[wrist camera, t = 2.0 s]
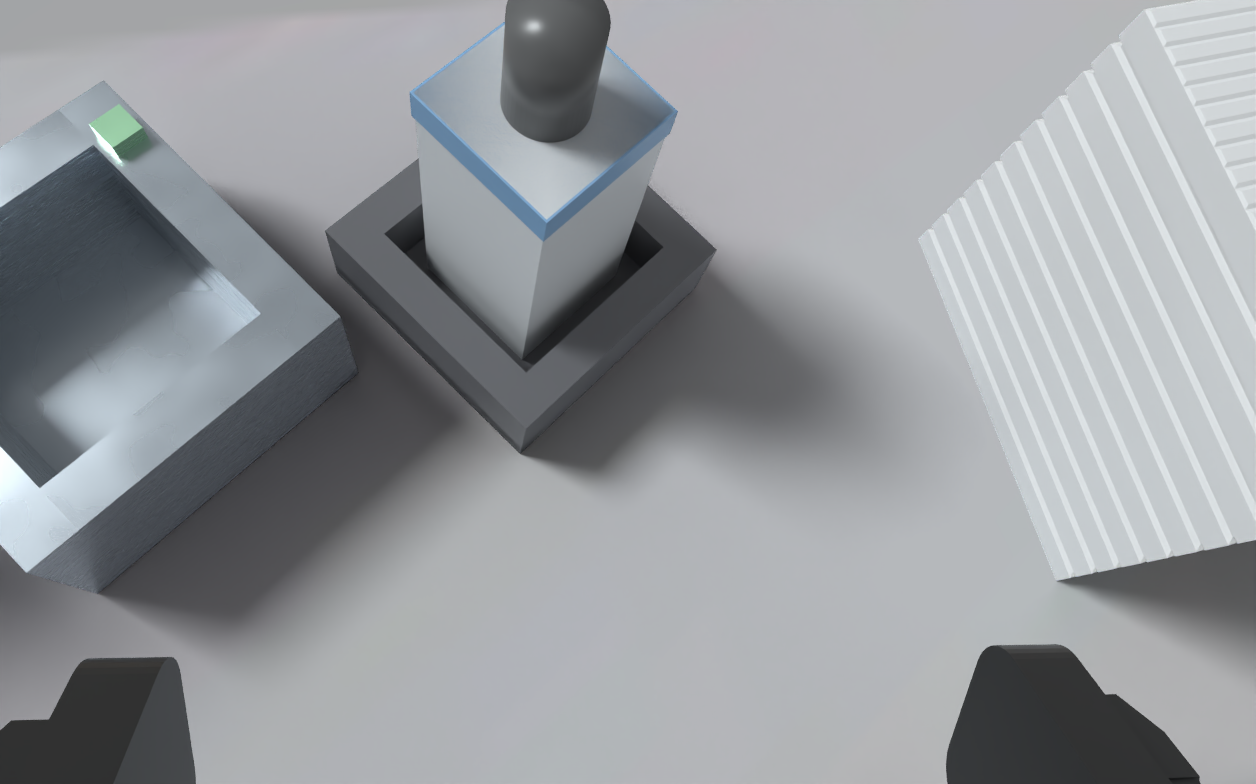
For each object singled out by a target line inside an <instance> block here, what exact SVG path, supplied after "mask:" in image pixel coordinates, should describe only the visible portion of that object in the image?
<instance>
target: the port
mask: <svg viewBox="0 0 1256 784" xmlns="http://www.w3.org/2000/svg"><path fill="white" fill-rule="evenodd" d="M356 374H358V370H357V367H356V364H355V361H354V358H353V354H352V351H351V348H350V345H349V342H348V339H347V336H346V332H345V329H344V326H343V323H342V320H341V317H340V315H339V314H338V313H337V312H336V311H335V310H334V309H333V308H332V307H331V306H329V305H328V304H327V303H326V302H325V301H324V300H323V299H322V298H321V297H320V296H319V295H318V294H317V293H316V292H315V291H314V290H313V289H312V288H311V287H310V286H309V285H308V284H307V283H306V282H305V281H304V280H303V279H302V278H301V277H300V276H299V275H298V274H297V273H296V272H295V271H294V270H293V269H292V268H291V267H290V266H289V265H288V264H287V263H286V262H285V261H284V260H283V259H282V258H281V257H280V256H279V255H278V254H277V253H276V252H275V251H274V250H273V249H272V248H271V247H270V246H269V245H268V244H267V243H266V242H265V241H264V240H263V239H262V238H261V237H260V236H259V235H258V234H257V233H256V232H255V231H254V230H253V229H252V228H251V227H250V226H249V225H248V224H247V223H246V222H245V221H244V220H243V219H242V218H241V217H240V216H239V215H238V214H237V213H236V212H235V211H234V210H233V209H232V208H231V207H230V206H229V205H228V204H227V203H226V202H225V201H224V200H223V199H222V198H221V197H220V196H219V195H218V194H217V193H216V192H215V191H214V190H213V189H212V188H211V187H210V186H209V185H208V184H207V183H206V182H205V181H204V180H203V179H202V178H201V177H200V176H199V175H198V174H197V173H196V172H195V171H194V170H193V169H192V168H191V167H190V166H189V165H188V164H187V163H186V162H185V161H184V160H183V159H182V158H181V157H180V156H179V155H178V154H177V153H176V152H175V151H174V150H173V149H172V148H171V147H170V146H169V145H168V144H167V143H166V142H165V141H164V140H163V139H162V138H161V137H160V136H159V135H158V134H157V133H156V132H155V131H154V130H153V129H152V128H151V127H150V126H149V125H148V124H147V123H146V122H145V121H144V120H143V119H142V118H141V117H140V116H139V115H138V114H137V113H136V112H135V111H134V110H133V109H132V108H131V107H130V106H129V105H128V104H127V103H126V102H125V101H124V100H123V99H122V98H121V97H120V96H119V95H118V94H117V93H116V92H115V91H114V90H113V89H112V88H111V87H110V86H109V85H108V84H107V83H106V82H105V81H104V80H103V81H102V82H100V83H99V84H97V85H96V86H94V87H92V88H91V89H89V90H88V91H86V92H85V93H83V94H82V95H80V96H79V97H77V98H76V99H74V100H72V101H71V102H69V103H68V104H66V105H65V106H63V107H62V108H60V109H59V110H57V111H56V112H54V113H52V114H51V115H49V116H48V117H46V118H45V119H43V120H42V121H40V122H39V123H37V124H36V125H34V126H32V127H31V128H29V129H28V130H26V131H25V132H23V133H22V134H20V135H19V136H17V137H16V138H14V139H12V140H11V141H9V142H8V143H6V144H5V145H3V146H2V147H0V545H1V546H2V547H3V548H4V549H5V550H6V551H7V552H8V554H9V555H10V556H11V557H12V558H13V559H14V560H15V561H16V562H17V563H18V564H19V565H20V567H21V568H22V569H23V570H24V571H25V572H26V573H28V574H32V575H35V576H39V577H42V578H45V579H49V580H52V581H56V582H59V583H62V584H66V585H69V586H73V587H76V588H80V589H83V590H86V591H90V592H93V593H97V594H98V593H99V592H100V591H101V590H103V589H104V588H105V587H106V586H107V585H108V584H110V583H111V582H112V581H113V580H114V579H116V578H117V577H118V576H119V575H120V574H121V573H123V572H124V571H125V570H126V569H127V568H129V567H130V566H131V565H132V564H133V563H134V562H136V561H137V560H138V559H139V558H140V557H142V556H143V555H144V554H145V553H146V552H147V551H149V550H150V549H151V548H152V547H153V546H155V545H156V544H157V543H158V542H159V541H160V540H162V539H163V538H164V537H165V536H166V535H167V534H169V533H170V532H171V531H172V530H173V529H175V528H176V527H177V526H178V525H179V524H180V523H182V522H183V521H184V520H185V519H186V518H188V517H189V516H190V515H191V514H192V513H193V512H195V511H196V510H197V509H198V508H199V507H201V506H202V505H203V504H204V503H205V502H206V501H208V500H209V499H210V498H211V497H212V496H214V495H215V494H216V493H217V492H218V491H219V490H221V489H222V488H223V487H224V486H225V485H227V484H228V483H229V482H230V481H231V480H232V479H234V478H235V477H236V476H237V475H238V474H240V473H241V472H242V471H243V470H244V469H245V468H247V467H248V466H249V465H250V464H251V463H253V462H254V461H255V460H256V459H257V458H258V457H260V456H261V455H262V454H263V453H264V452H265V451H267V450H268V449H269V448H270V447H271V446H273V445H274V444H275V443H276V442H277V441H278V440H280V439H281V438H282V437H283V436H284V435H286V434H287V433H288V432H289V431H290V430H291V429H293V428H294V427H295V426H296V425H297V424H299V423H300V422H301V421H302V420H303V419H304V418H306V417H307V416H308V415H309V414H310V413H312V412H313V411H314V410H315V409H316V408H317V407H319V406H320V405H321V404H322V403H323V402H325V401H326V400H327V399H328V398H329V397H330V396H332V395H333V394H334V393H335V392H336V391H338V390H339V389H340V388H341V387H342V386H343V385H345V384H346V383H347V382H348V381H349V380H350V379H352V378H353V377H354V376H355V375H356Z"/></svg>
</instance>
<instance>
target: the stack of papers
mask: <svg viewBox="0 0 1256 784" xmlns="http://www.w3.org/2000/svg"><path fill="white" fill-rule="evenodd" d="M1118 36H1119V38H1120V40H1121V42H1117V43H1111V44H1110V45H1109V46H1108V47H1107V48H1106V49H1105V50H1104V51H1103V52H1102V53H1101V54H1100V55H1099V56H1098V57H1097V58H1096V59H1095V60H1094V61H1093V62H1092V63H1091V66H1092V68H1093V70H1087V71H1083V72H1082V73H1081V74H1080V75H1079V76H1078V77H1077V78H1076V79H1075V80H1074V81H1073V82H1072V83H1071V84H1070V85H1069V86H1068V87H1067V88H1066V89H1065V91H1066V93H1067V95H1064V96H1059V97H1058V98H1057V99H1056V100H1055V101H1054V102H1053V103H1052V104H1051V105H1050V106H1049V107H1048V108H1047V109H1046V110H1045V111H1044V112H1043V113H1042V116H1043V119H1038V120H1035V121H1034V122H1033V123H1032V124H1031V125H1030V126H1029V127H1028V128H1027V129H1026V130H1025V131H1024V132H1023V133H1022V134H1021V135H1020V138H1021V140H1020V141H1015V142H1013V143H1012V144H1011V145H1010V146H1009V147H1008V148H1007V149H1006V150H1005V151H1004V152H1003V153H1002V154H1001V155H1000V158H1001V160H1000V161H995V162H994V163H993V164H992V165H991V166H990V167H989V168H988V169H987V170H986V171H985V172H984V173H983V174H982V175H981V177H982V179H980V180H976V181H975V182H974V183H973V184H972V185H971V186H970V187H969V188H968V189H967V190H966V191H965V192H964V193H963V194H964V196H965V197H961V198H958V199H957V200H956V201H955V202H954V203H953V204H952V205H951V206H950V207H949V208H948V209H947V211H948V213H946V214H942V215H941V217H940V218H939V219H938V220H937V221H936V222H935V223H934V224H933V225H932V227H933V228H932V229H928V230H927V231H926V232H925V233H924V234H923V235H922V236H921V237H920V238H919V239H918V240H919V242H920V245H921V247H922V250H923V252H924V255H925V257H926V260H927V262H928V265H929V267H930V269H931V272H932V274H933V277H934V279H935V282H936V284H937V287H938V289H939V292H940V294H941V297H942V299H943V302H944V304H945V307H946V309H947V312H948V314H949V317H950V319H951V321H952V324H953V326H954V329H955V331H956V334H957V336H958V339H959V341H960V344H961V346H962V349H963V351H964V354H965V356H966V359H967V361H968V364H969V366H970V369H971V371H972V373H973V376H974V378H975V381H976V383H977V386H978V388H979V391H980V393H981V396H982V398H983V401H984V403H985V406H986V408H987V411H988V413H989V416H990V418H991V421H992V423H993V425H994V428H995V430H996V433H997V435H998V438H999V440H1000V443H1001V445H1002V448H1003V450H1004V453H1005V455H1006V458H1007V460H1008V463H1009V465H1010V468H1011V470H1012V473H1013V475H1014V477H1015V480H1016V482H1017V485H1018V487H1019V490H1020V492H1021V495H1022V497H1023V500H1024V502H1025V505H1026V507H1027V510H1028V512H1029V515H1030V517H1031V520H1032V522H1033V525H1034V527H1035V529H1036V532H1037V534H1038V537H1039V539H1040V542H1041V544H1042V547H1043V549H1044V552H1045V554H1046V557H1047V559H1048V562H1049V564H1050V567H1051V569H1052V572H1053V574H1054V577H1055V579H1056V581H1058V580H1063V579H1067V578H1072V577H1075V576H1076V577H1077V576H1082V575H1087V574H1092V573H1095V572H1102V571H1107V570H1111V569H1116V568H1119V567H1126V566H1131V565H1136V564H1141V563H1144V562H1151V561H1155V560H1160V559H1165V558H1169V557H1172V556H1180V555H1185V554H1190V553H1195V552H1198V551H1201V550H1209V549H1214V548H1219V547H1224V546H1229V545H1232V544H1235V543H1237V544H1239V543H1243V542H1248V541H1253V540H1256V0H1196V1H1190V2H1184V3H1178V4H1172V5H1167V6H1161V7H1155V8H1149V9H1144V10H1143V11H1142V12H1141V13H1140V14H1139V15H1138V16H1137V17H1136V18H1135V19H1134V20H1133V21H1132V22H1131V23H1130V24H1129V25H1128V26H1127V27H1126V28H1125V29H1124V30H1123V31H1122V32H1121V33H1120V34H1119V35H1118Z"/></svg>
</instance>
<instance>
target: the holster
mask: <svg viewBox="0 0 1256 784" xmlns="http://www.w3.org/2000/svg"><path fill="white" fill-rule="evenodd" d="M325 232H326V236H327V239H328V243H329V246H330V249H331V253H332V256H333V260H334V263H335V267H336V270H337V273H338V274H339V275H340V276H341V277H342V278H343V279H344V280H345V281H346V282H347V283H348V284H349V285H350V286H351V287H352V288H353V289H354V290H355V291H356V292H357V293H358V294H359V295H360V296H361V297H362V298H363V299H364V300H365V301H366V302H367V303H368V304H369V305H370V306H371V307H372V308H373V309H374V310H375V311H376V312H377V313H378V314H379V315H380V316H381V317H382V318H383V319H385V320H386V321H387V322H388V323H389V324H390V325H391V326H392V327H393V328H394V329H395V330H396V331H397V332H398V333H399V334H400V335H401V336H402V337H403V338H404V339H405V340H406V341H407V342H408V343H409V344H410V345H411V346H412V347H413V348H414V349H415V350H416V351H417V352H418V353H419V354H420V355H421V356H422V357H423V358H424V359H425V360H426V361H427V362H428V363H429V364H430V365H431V366H432V367H433V368H434V369H435V370H436V371H437V372H438V373H439V374H440V375H441V376H442V377H443V378H444V379H445V380H446V381H447V382H448V383H449V384H450V385H451V386H452V387H453V388H454V389H455V390H456V391H457V392H458V393H459V394H460V395H461V396H462V397H463V398H464V399H465V400H466V401H467V402H468V403H469V404H470V405H471V406H472V407H473V408H474V409H475V410H476V411H477V412H478V413H479V414H480V415H481V416H482V417H483V418H484V419H485V420H486V421H488V422H489V423H490V424H491V425H492V426H493V427H494V428H495V429H496V430H497V431H498V432H499V433H500V434H501V435H502V436H503V437H504V438H505V439H506V440H507V441H508V442H509V443H510V444H511V445H512V446H513V447H514V448H515V449H516V450H517V451H518V452H519V453H521V452H522V451H524V450H525V449H526V448H527V447H528V446H529V445H530V444H531V443H532V442H533V441H534V440H535V439H536V438H537V437H538V436H539V435H540V434H541V433H543V432H544V431H545V430H546V429H547V428H548V427H549V426H550V425H551V424H552V423H553V422H554V421H555V420H556V419H557V418H558V417H559V416H560V415H562V414H563V413H564V412H565V411H566V410H567V409H568V408H569V407H570V406H571V405H572V404H573V403H574V402H575V401H576V400H577V399H578V398H579V397H581V396H582V395H583V394H584V393H585V392H586V391H587V390H588V389H589V388H590V387H591V386H592V385H593V384H594V383H595V382H596V381H597V380H598V379H600V378H601V377H602V376H603V375H604V374H605V373H606V372H607V371H608V370H609V369H610V368H611V367H612V366H613V365H614V364H615V363H616V362H617V361H618V360H620V359H621V358H622V357H623V356H624V355H625V354H626V353H627V352H628V351H629V350H630V349H631V348H632V347H633V346H634V345H635V344H636V343H637V342H639V341H640V340H641V339H642V338H643V337H644V336H645V335H646V334H647V333H648V332H649V331H650V330H651V329H652V328H653V327H654V326H655V325H656V324H658V323H659V322H660V321H661V320H662V319H663V318H664V317H665V316H666V315H667V314H668V313H669V312H670V311H671V310H672V309H673V308H674V307H675V306H677V305H678V304H679V303H680V302H681V301H682V300H683V299H684V298H685V297H686V296H687V295H688V294H689V293H690V292H691V291H692V290H693V289H694V288H695V287H696V286H697V284H698V282H699V280H700V278H701V277H702V275H703V273H704V271H705V270H706V268H707V266H708V264H709V262H710V261H711V259H712V257H713V255H714V254H715V252H716V249H715V248H714V247H713V246H712V245H711V244H710V243H709V242H708V241H707V240H706V239H705V238H703V237H702V236H701V235H700V234H699V233H698V232H697V231H696V230H695V229H694V228H693V227H692V226H691V225H690V224H689V223H687V222H686V221H685V220H684V219H683V218H682V217H681V216H680V215H679V214H678V213H677V212H676V211H675V210H674V209H672V208H671V207H670V206H669V205H668V204H667V203H666V202H665V201H664V200H663V199H662V198H661V197H660V196H659V195H658V194H656V193H655V192H654V191H653V190H652V189H651V188H650V187H649V186H647V189H646V191H645V194H644V197H643V200H642V203H641V205H640V208H639V211H638V214H637V216H636V219H635V222H634V225H633V228H632V230H631V233H630V236H629V239H628V241H627V244H626V247H625V250H624V253H623V255H622V258H621V261H620V264H619V266H618V269H617V272H616V275H615V276H614V277H613V278H612V279H611V280H610V281H609V282H608V283H606V284H605V285H604V286H603V287H602V288H601V289H600V290H599V291H598V292H597V293H595V294H594V295H593V296H592V297H591V298H590V299H589V300H588V301H587V302H585V303H584V304H583V305H582V306H581V307H580V308H579V309H578V310H577V311H576V312H574V313H573V314H572V315H571V316H570V317H569V318H568V319H567V320H566V321H564V322H563V323H562V324H561V325H560V326H559V327H558V328H557V329H556V330H555V331H553V332H552V333H551V334H550V335H549V336H548V337H547V338H546V339H545V340H543V341H542V342H541V343H540V344H539V345H538V346H537V347H536V348H535V349H534V350H532V351H531V352H530V353H529V354H528V355H527V356H526V357H525V358H524V359H521V358H520V357H519V356H518V355H517V354H516V353H514V352H513V351H512V350H511V349H510V348H509V347H508V346H507V345H506V344H505V343H504V342H503V341H502V340H501V339H500V338H499V337H498V336H497V335H496V334H495V333H494V332H493V331H492V330H491V329H490V328H489V327H488V326H487V325H486V324H485V323H484V322H483V321H482V320H481V319H480V318H479V317H478V316H477V315H476V314H475V313H474V312H473V311H471V310H470V309H469V308H468V307H467V306H466V305H465V304H464V303H463V302H462V301H461V300H460V299H459V298H458V297H457V296H456V295H455V294H454V293H453V292H452V291H451V290H450V289H449V288H448V287H447V286H446V285H445V284H444V283H443V282H442V281H441V280H440V279H439V278H438V277H437V276H436V275H435V274H434V273H433V272H432V271H431V270H430V269H428V268H427V256H426V244H425V232H424V219H423V207H422V194H421V182H420V169H419V158H418V159H417V160H416V161H415V162H413V163H412V164H411V165H409V166H408V167H407V168H405V169H404V170H403V171H402V172H400V173H399V174H398V175H396V176H395V177H394V178H393V179H391V180H390V181H389V182H387V183H386V184H385V185H384V186H382V187H381V188H380V189H378V190H377V191H376V192H374V193H373V194H372V195H371V196H369V197H368V198H367V199H365V200H364V201H363V202H362V203H360V204H359V205H358V206H356V207H355V208H354V209H353V210H351V211H350V212H349V213H347V214H346V215H345V216H344V217H342V218H341V219H340V220H338V221H337V222H336V223H334V224H333V225H332V226H331V227H329V228H328V229H327V230H325Z"/></svg>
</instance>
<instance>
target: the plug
mask: <svg viewBox="0 0 1256 784" xmlns="http://www.w3.org/2000/svg"><path fill="white" fill-rule="evenodd" d="M610 24H611V21H610V14H609V11H608V8H607V6H606V4H605V2H604V0H508V2H507V6H506V14H505V22H503V23H502V24H501V25H499V26H498V27H497V28H495V29H494V30H493V31H491V32H490V33H489V34H487V35H486V36H485V37H483V38H482V39H481V40H479V41H478V42H477V43H475V44H474V45H473V46H471V47H470V48H468V49H467V50H466V51H464V52H463V53H462V54H460V55H459V56H458V57H456V58H455V59H454V60H452V61H451V62H450V63H448V64H447V65H446V66H444V67H443V68H442V69H440V70H439V71H437V72H436V73H435V74H433V75H432V76H431V77H429V78H428V79H427V80H425V81H424V82H423V83H421V84H420V85H419V86H417V87H416V88H415V89H413V90H412V91H411V92H410V103H411V115H412V117H413V118H414V119H415V120H416V132H417V144H418V157H419V169H420V182H421V194H422V207H423V219H424V232H425V244H426V256H427V268H428V269H430V270H431V271H432V272H433V273H434V274H435V275H436V276H437V277H438V278H439V279H440V280H441V281H442V282H443V283H444V284H445V285H446V286H447V287H448V288H449V289H450V290H451V291H452V292H453V293H454V294H455V295H456V296H457V297H458V298H459V299H460V300H461V301H462V302H463V303H464V304H465V305H466V306H467V307H468V308H469V309H470V310H471V311H473V312H474V313H475V314H476V315H477V316H478V317H479V318H480V319H481V320H482V321H483V322H484V323H485V324H486V325H487V326H488V327H489V328H490V329H491V330H492V331H493V332H494V333H495V334H496V335H497V336H498V337H499V338H500V339H501V340H502V341H503V342H504V343H505V344H506V345H507V346H508V347H509V348H510V349H511V350H512V351H513V352H514V353H516V354H517V355H518V356H519V357H520V358H521V359H524V358H525V357H526V356H527V355H528V354H529V353H530V352H531V351H532V350H534V349H535V348H536V347H537V346H538V345H539V344H540V343H541V342H542V341H543V340H545V339H546V338H547V337H548V336H549V335H550V334H551V333H552V332H553V331H555V330H556V329H557V328H558V327H559V326H560V325H561V324H562V323H563V322H564V321H566V320H567V319H568V318H569V317H570V316H571V315H572V314H573V313H574V312H576V311H577V310H578V309H579V308H580V307H581V306H582V305H583V304H584V303H585V302H587V301H588V300H589V299H590V298H591V297H592V296H593V295H594V294H595V293H597V292H598V291H599V290H600V289H601V288H602V287H603V286H604V285H605V284H606V283H608V282H609V281H610V280H611V279H612V278H613V277H614V276H615V275H616V272H617V269H618V266H619V264H620V261H621V258H622V255H623V253H624V250H625V247H626V244H627V241H628V239H629V236H630V233H631V230H632V228H633V225H634V222H635V219H636V216H637V214H638V211H639V208H640V205H641V203H642V200H643V197H644V194H645V191H646V189H647V186H648V183H649V180H650V177H651V175H652V172H653V169H654V166H655V164H656V161H657V158H658V155H659V152H660V150H661V147H662V144H663V141H664V139H665V137H666V136H667V135H668V134H670V131H671V129H672V126H673V123H674V121H675V118H676V115H677V112H678V111H677V110H676V109H675V108H674V107H673V106H671V105H670V104H669V103H668V102H667V101H666V100H665V99H664V98H663V97H662V96H661V95H660V94H658V93H657V92H656V91H655V90H654V89H653V88H652V87H651V86H650V85H649V84H648V83H646V82H645V81H644V80H643V79H642V78H641V77H640V76H639V75H638V74H637V73H636V72H635V71H633V70H632V69H631V68H630V67H629V66H628V65H627V64H626V63H625V62H624V61H623V60H622V59H620V58H619V57H618V56H617V55H616V54H615V53H614V52H613V51H612V50H611V49H610V48H609V47H607V46H606V45H607V41H608V36H609V32H610Z"/></svg>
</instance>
